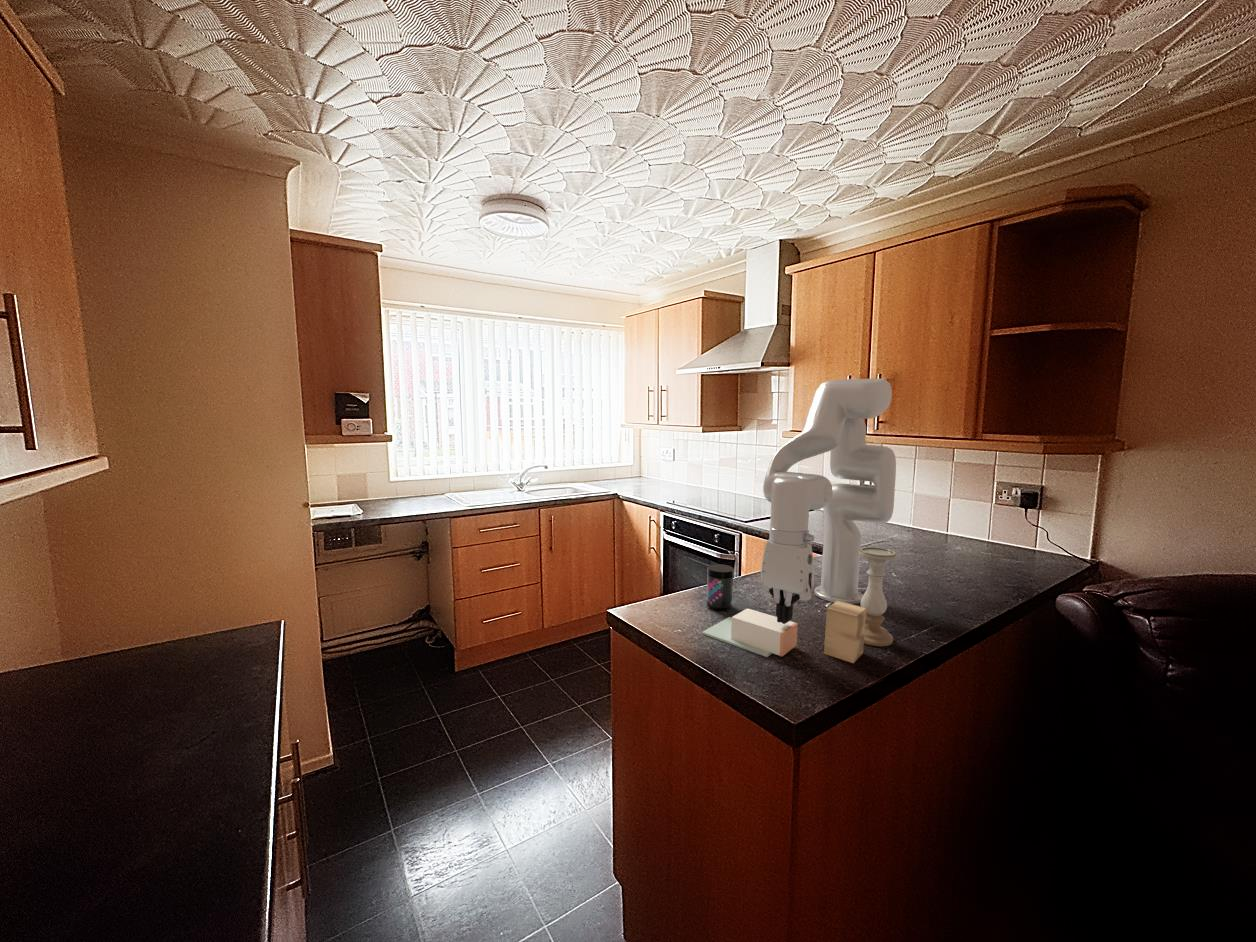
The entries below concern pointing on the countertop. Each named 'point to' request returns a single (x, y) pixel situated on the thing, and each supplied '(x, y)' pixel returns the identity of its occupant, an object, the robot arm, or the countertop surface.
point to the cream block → (764, 632)
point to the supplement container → (720, 587)
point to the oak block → (844, 631)
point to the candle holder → (875, 596)
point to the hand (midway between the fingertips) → (783, 621)
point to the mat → (724, 634)
